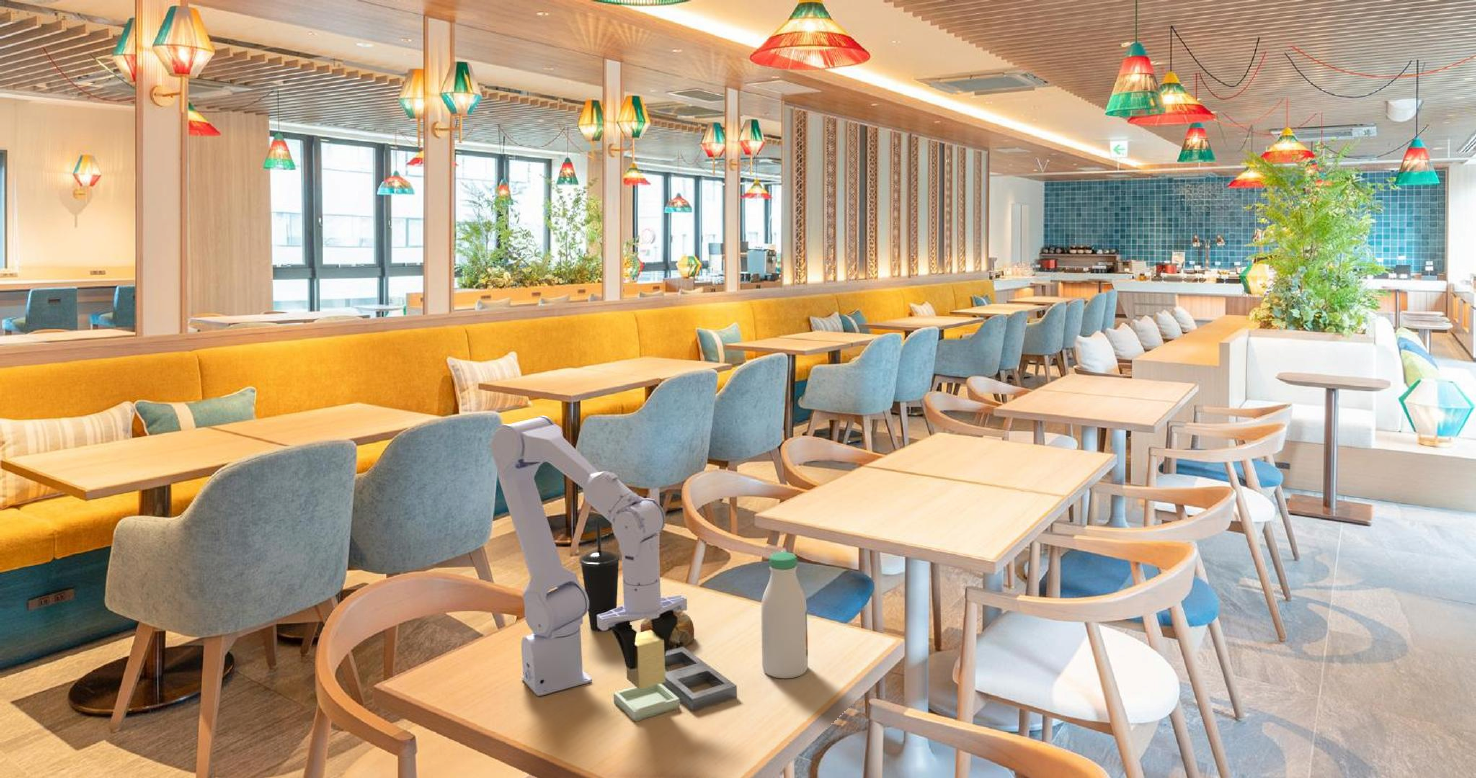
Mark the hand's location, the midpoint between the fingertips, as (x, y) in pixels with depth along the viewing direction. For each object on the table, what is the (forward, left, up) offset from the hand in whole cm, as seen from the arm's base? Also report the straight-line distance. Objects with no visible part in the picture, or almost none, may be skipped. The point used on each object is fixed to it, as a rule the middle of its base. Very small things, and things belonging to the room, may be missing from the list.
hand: (645, 662), depth 148 cm
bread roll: (+14, +20, -7) cm, 25 cm away
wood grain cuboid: (0, 0, -3) cm, 3 cm away
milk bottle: (+25, -2, -7) cm, 26 cm away
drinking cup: (+7, +33, -7) cm, 34 cm away
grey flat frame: (+9, +3, -7) cm, 12 cm away
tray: (0, 0, -7) cm, 7 cm away
